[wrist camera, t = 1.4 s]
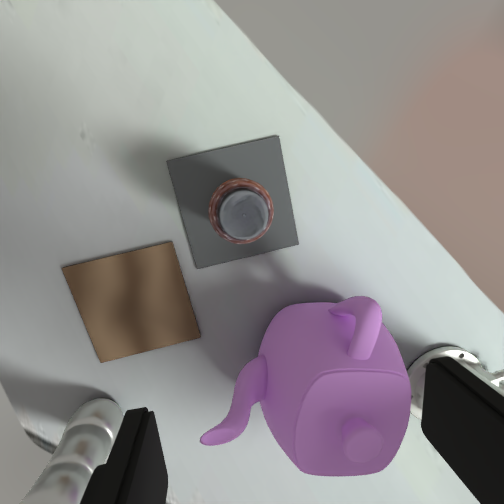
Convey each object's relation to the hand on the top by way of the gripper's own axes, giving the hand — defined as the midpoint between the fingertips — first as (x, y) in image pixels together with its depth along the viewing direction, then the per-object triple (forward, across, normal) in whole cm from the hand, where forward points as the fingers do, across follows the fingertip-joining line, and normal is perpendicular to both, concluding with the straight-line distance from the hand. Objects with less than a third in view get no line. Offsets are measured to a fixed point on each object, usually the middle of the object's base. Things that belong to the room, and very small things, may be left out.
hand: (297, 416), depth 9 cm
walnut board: (+26, +13, +6) cm, 30 cm away
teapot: (+26, -8, +16) cm, 32 cm away
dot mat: (+26, 0, -5) cm, 27 cm away
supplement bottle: (+26, 0, -5) cm, 27 cm away
